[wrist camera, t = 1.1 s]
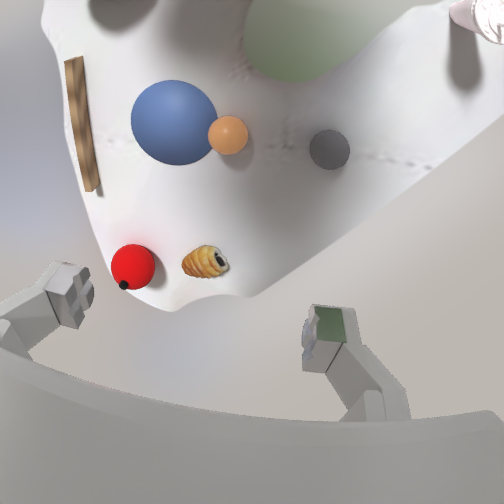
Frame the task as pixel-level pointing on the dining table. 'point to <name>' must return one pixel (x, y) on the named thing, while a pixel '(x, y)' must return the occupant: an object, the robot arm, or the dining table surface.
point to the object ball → (228, 135)
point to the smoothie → (481, 18)
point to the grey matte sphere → (329, 149)
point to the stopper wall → (81, 122)
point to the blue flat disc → (173, 122)
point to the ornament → (132, 267)
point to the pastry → (205, 262)
